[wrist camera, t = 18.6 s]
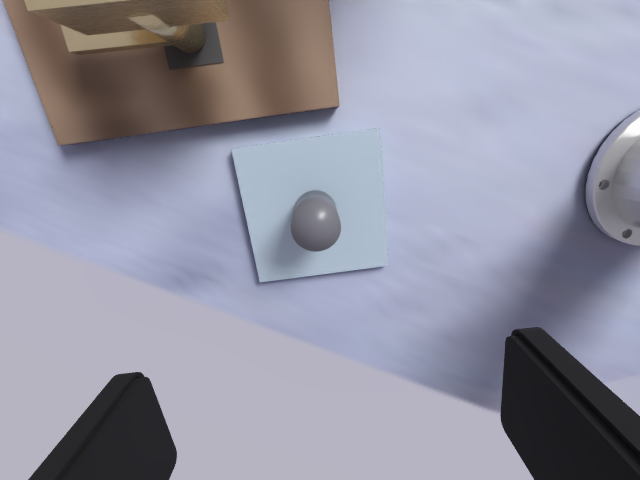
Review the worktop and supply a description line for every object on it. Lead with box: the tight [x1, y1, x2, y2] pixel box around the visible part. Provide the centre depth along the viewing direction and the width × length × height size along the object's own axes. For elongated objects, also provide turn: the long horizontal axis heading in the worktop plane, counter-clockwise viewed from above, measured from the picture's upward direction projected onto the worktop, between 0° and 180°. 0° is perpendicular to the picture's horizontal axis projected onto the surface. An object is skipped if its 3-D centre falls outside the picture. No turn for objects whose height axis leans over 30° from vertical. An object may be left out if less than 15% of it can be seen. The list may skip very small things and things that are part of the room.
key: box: [24, 0, 230, 55], centre depth 18 cm, size 2×11×9 cm, turn 96°
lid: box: [231, 128, 389, 282], centre depth 26 cm, size 12×12×6 cm
